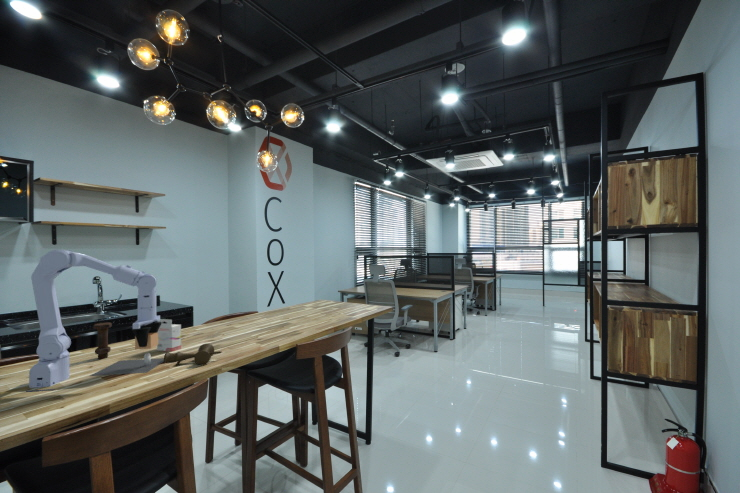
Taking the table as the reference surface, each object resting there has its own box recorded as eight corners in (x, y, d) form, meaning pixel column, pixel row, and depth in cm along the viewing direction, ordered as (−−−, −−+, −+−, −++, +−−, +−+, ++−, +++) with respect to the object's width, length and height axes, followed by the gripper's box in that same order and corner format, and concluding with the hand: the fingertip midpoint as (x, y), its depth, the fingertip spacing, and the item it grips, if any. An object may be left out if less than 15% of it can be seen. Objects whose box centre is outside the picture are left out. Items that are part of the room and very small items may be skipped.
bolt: (115, 359, 131) (115, 322, 131) (103, 363, 126) (103, 325, 126) (102, 359, 132) (101, 322, 132) (90, 363, 127) (90, 325, 127)
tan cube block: (150, 348, 117) (150, 336, 117) (135, 349, 116) (135, 336, 116) (158, 344, 122) (158, 332, 122) (143, 345, 121) (143, 333, 121)
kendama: (168, 362, 128) (223, 355, 134) (161, 371, 119) (220, 363, 125) (168, 347, 128) (223, 341, 134) (160, 355, 119) (219, 348, 125)
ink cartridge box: (182, 351, 141) (181, 317, 141) (172, 355, 136) (171, 319, 136) (166, 350, 143) (166, 316, 143) (156, 353, 138) (156, 318, 139)
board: (147, 376, 111) (147, 359, 112) (89, 380, 109) (89, 362, 109) (169, 361, 127) (169, 346, 127) (119, 364, 125) (119, 348, 125)
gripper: (148, 310, 113) (148, 349, 112) (168, 303, 127) (168, 338, 127) (125, 311, 112) (126, 350, 112) (148, 304, 126) (149, 339, 126)
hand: (147, 344), depth 119 cm, fingers closed on tan cube block, 5 cm apart
